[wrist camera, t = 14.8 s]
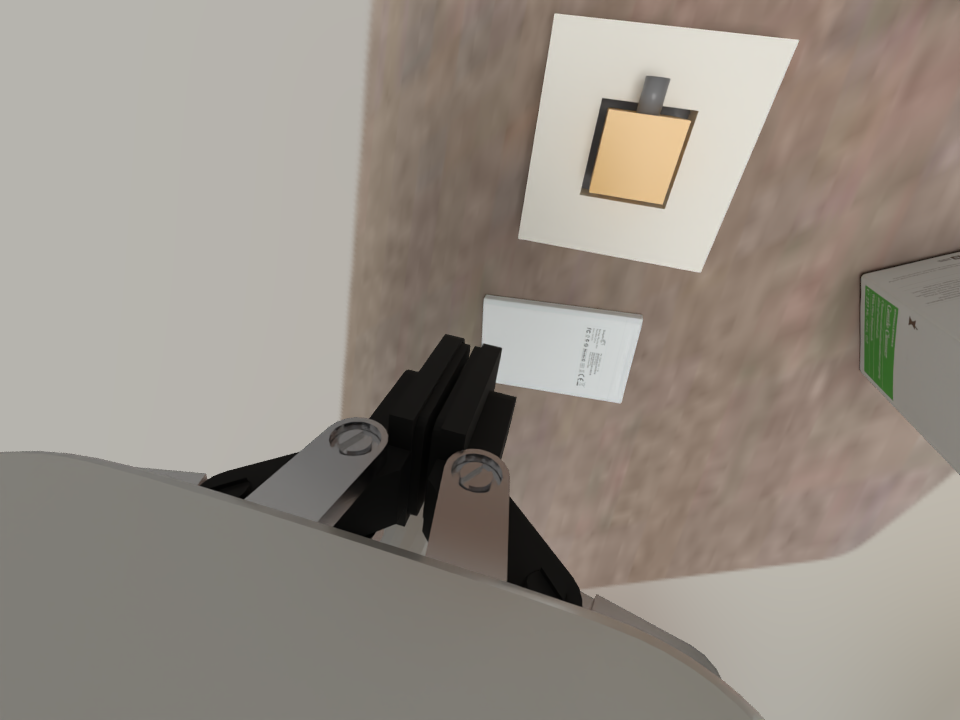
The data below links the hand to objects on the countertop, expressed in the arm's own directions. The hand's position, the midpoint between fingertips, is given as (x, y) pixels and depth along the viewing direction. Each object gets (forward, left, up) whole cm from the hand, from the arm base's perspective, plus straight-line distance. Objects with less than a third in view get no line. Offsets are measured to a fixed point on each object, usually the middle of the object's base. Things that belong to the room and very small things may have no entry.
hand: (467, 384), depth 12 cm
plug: (+5, -4, -21) cm, 22 cm away
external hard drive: (-11, -3, -23) cm, 25 cm away
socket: (+5, -5, -22) cm, 23 cm away
